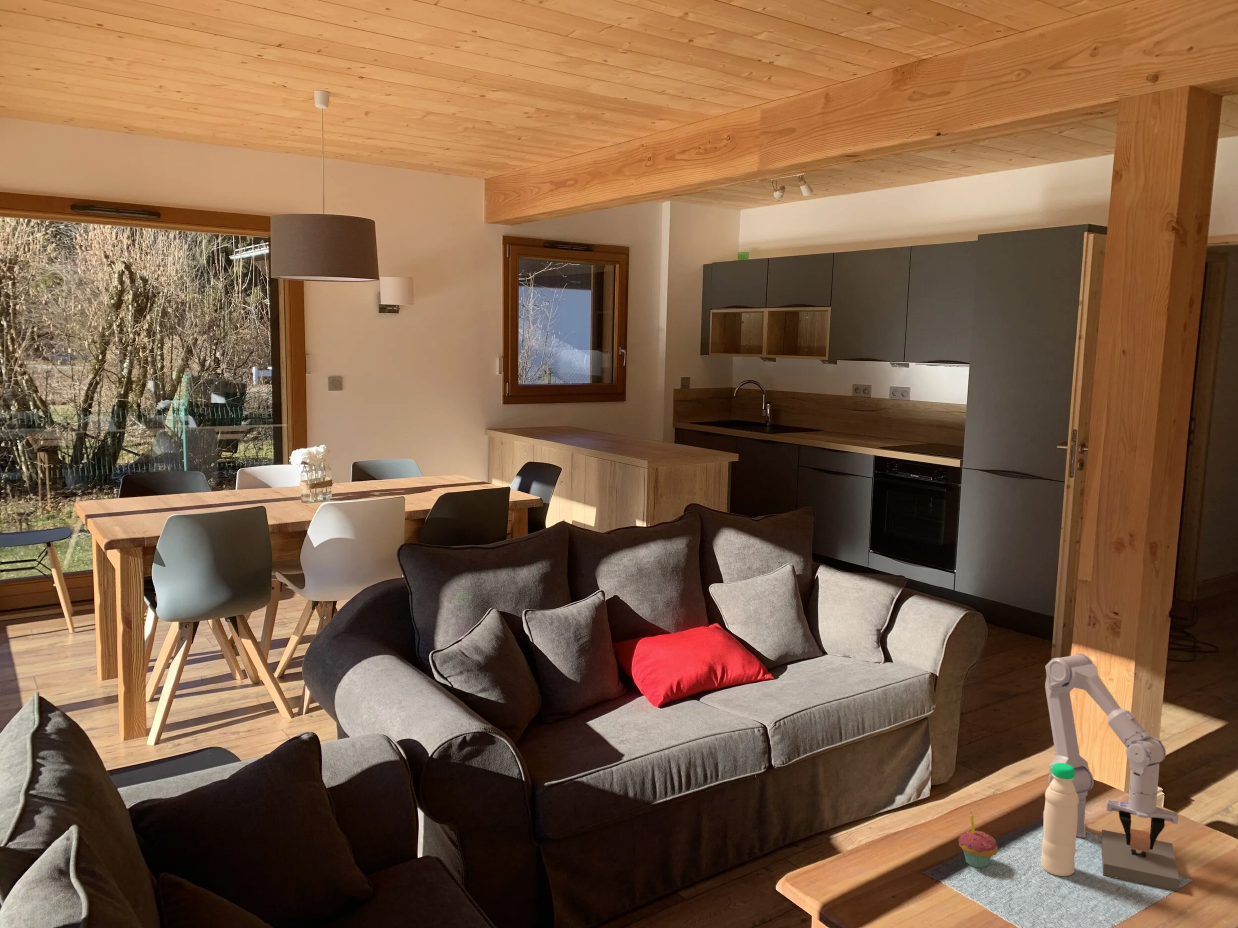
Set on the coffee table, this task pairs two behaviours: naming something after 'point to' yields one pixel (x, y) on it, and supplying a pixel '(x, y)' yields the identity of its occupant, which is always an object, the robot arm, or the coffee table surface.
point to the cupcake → (977, 846)
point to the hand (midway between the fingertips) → (1139, 845)
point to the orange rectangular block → (1139, 841)
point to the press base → (1139, 862)
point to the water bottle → (1060, 822)
